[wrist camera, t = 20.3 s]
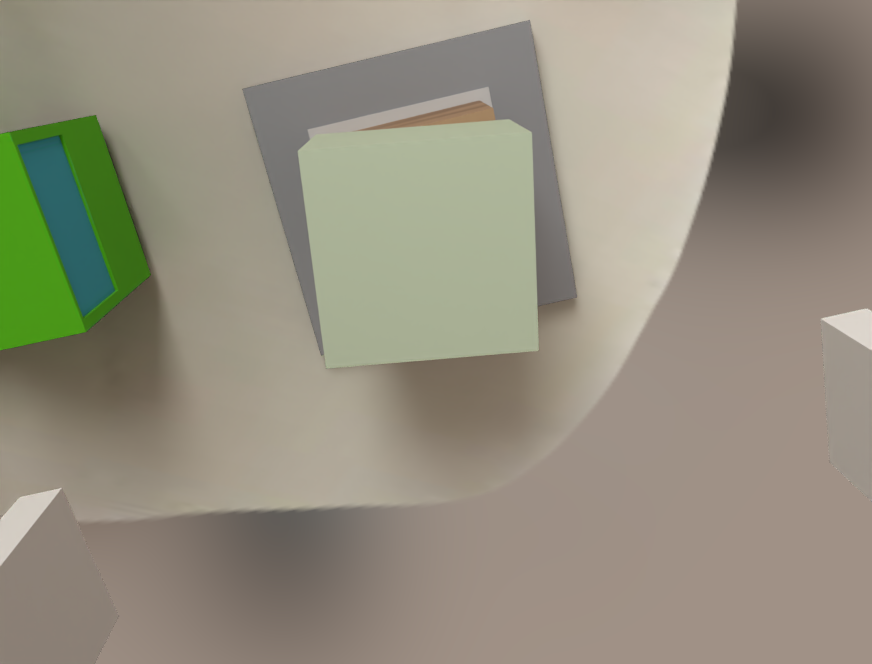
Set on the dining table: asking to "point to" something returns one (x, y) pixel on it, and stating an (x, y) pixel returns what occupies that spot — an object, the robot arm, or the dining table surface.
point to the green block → (422, 241)
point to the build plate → (402, 98)
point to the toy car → (62, 233)
